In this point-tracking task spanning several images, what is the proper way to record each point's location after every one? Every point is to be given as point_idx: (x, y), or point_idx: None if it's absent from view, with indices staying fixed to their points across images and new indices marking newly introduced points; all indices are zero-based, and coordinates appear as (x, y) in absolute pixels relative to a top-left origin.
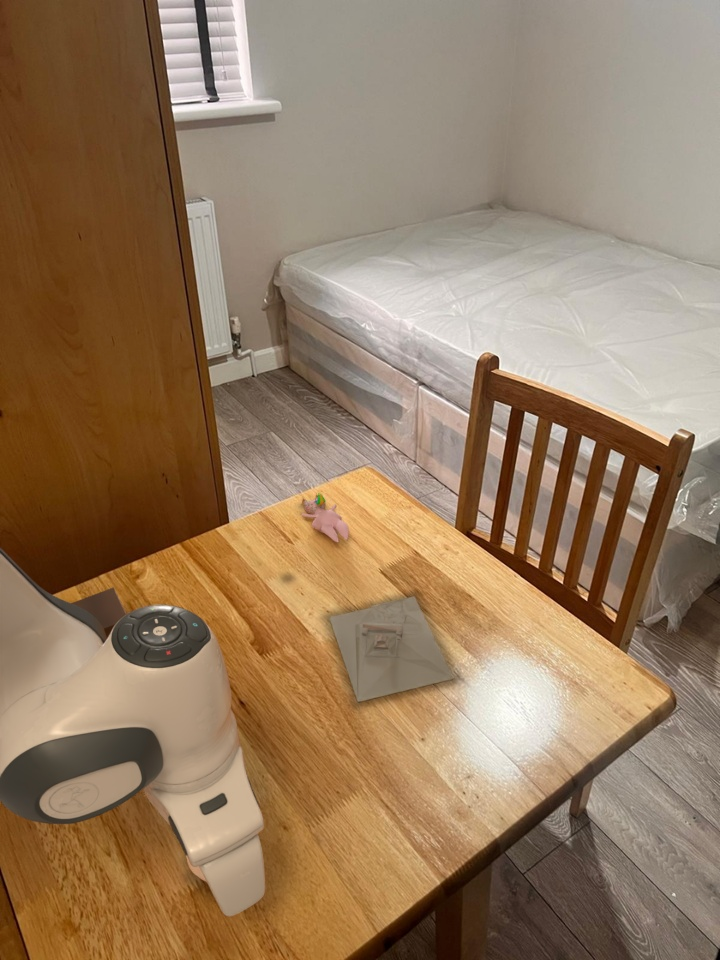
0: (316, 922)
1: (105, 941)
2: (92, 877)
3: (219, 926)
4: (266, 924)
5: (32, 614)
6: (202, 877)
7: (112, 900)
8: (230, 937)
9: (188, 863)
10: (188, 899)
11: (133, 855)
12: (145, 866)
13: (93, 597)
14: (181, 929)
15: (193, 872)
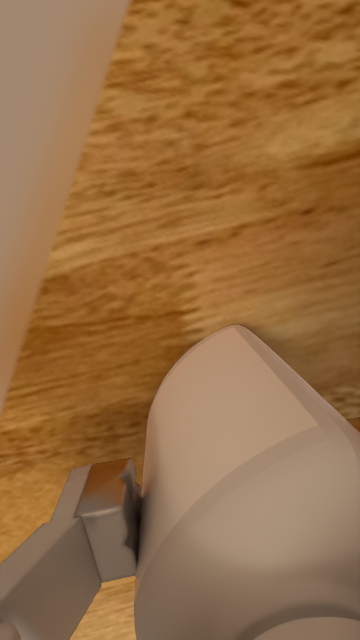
0: (21, 536)
1: (136, 66)
2: (332, 52)
3: (75, 359)
4: (47, 451)
5: None
6: (188, 356)
7: (241, 104)
8: (43, 377)
9: (234, 335)
10: (164, 303)
11: (338, 183)
12: (293, 211)
13: None
14: (98, 274)
15: (214, 334)
